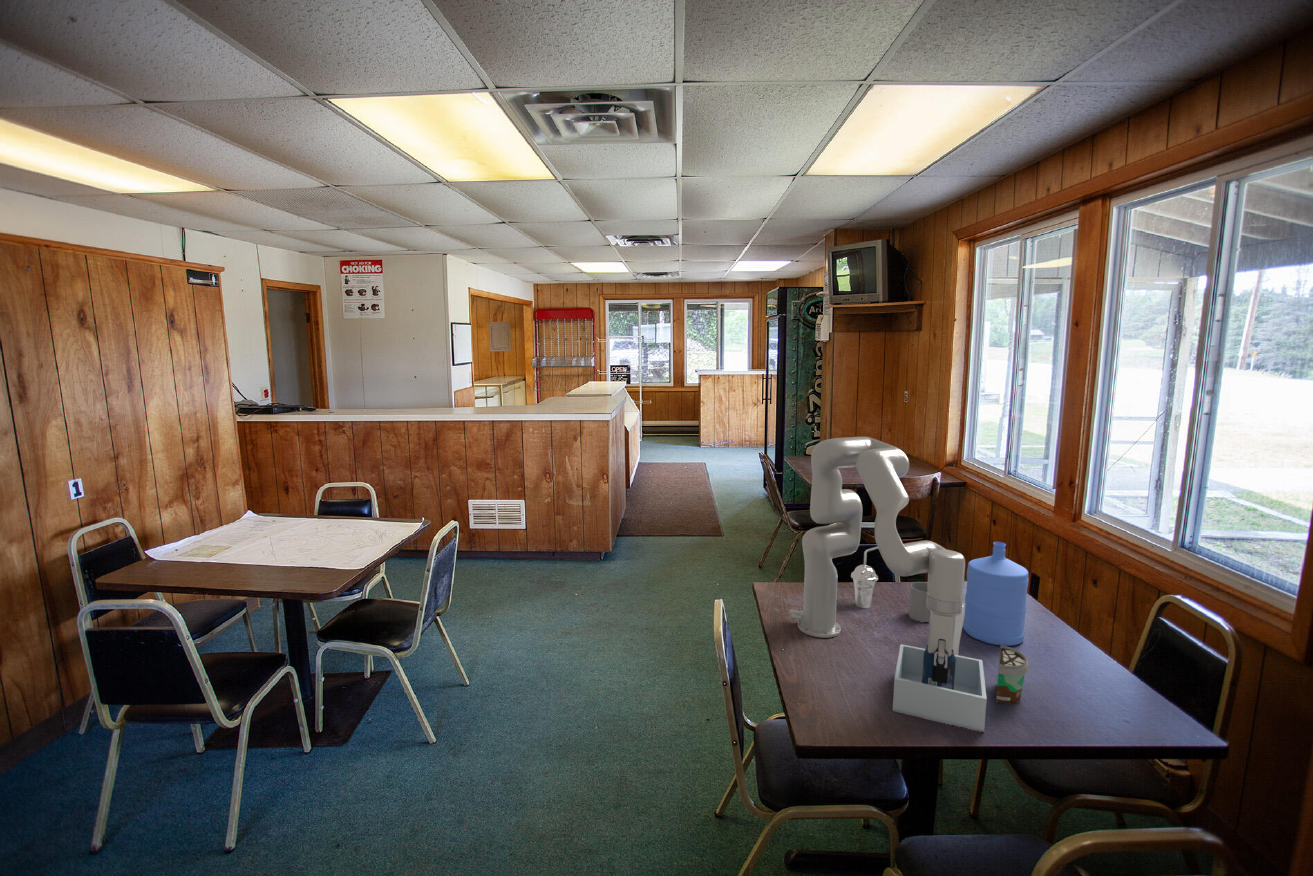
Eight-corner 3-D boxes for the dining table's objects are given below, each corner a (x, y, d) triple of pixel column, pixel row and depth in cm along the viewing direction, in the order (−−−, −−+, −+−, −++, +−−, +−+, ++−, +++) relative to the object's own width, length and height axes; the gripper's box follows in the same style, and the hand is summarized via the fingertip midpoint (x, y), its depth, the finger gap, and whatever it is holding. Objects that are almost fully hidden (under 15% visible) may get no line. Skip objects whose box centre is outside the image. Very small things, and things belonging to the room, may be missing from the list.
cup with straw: (848, 599, 200) (850, 542, 198) (876, 601, 198) (878, 544, 196) (851, 609, 192) (853, 550, 189) (880, 612, 190) (883, 552, 188)
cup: (939, 615, 188) (941, 585, 186) (935, 625, 181) (937, 594, 179) (911, 609, 192) (912, 580, 191) (906, 618, 185) (908, 588, 184)
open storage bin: (892, 711, 136) (894, 678, 135) (898, 673, 153) (900, 644, 152) (983, 733, 128) (986, 699, 127) (980, 690, 145) (982, 660, 144)
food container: (1026, 713, 136) (1029, 672, 134) (995, 704, 139) (998, 665, 138) (1026, 688, 146) (1029, 650, 145) (997, 681, 149) (1000, 643, 148)
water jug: (1012, 653, 164) (1020, 556, 160) (954, 633, 175) (960, 542, 172) (1031, 635, 174) (1039, 544, 170) (974, 618, 185) (981, 532, 182)
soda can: (928, 685, 146) (931, 639, 144) (957, 696, 141) (961, 649, 139) (916, 695, 141) (919, 648, 140) (945, 708, 136) (949, 659, 135)
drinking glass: (964, 661, 159) (968, 608, 157) (937, 659, 160) (940, 606, 158) (956, 649, 166) (960, 598, 164) (931, 647, 167) (934, 596, 165)
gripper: (927, 587, 147) (923, 652, 149) (925, 614, 131) (920, 686, 134) (961, 593, 144) (956, 659, 146) (962, 621, 128) (957, 694, 130)
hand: (939, 672), depth 140 cm, fingers open, 9 cm apart
